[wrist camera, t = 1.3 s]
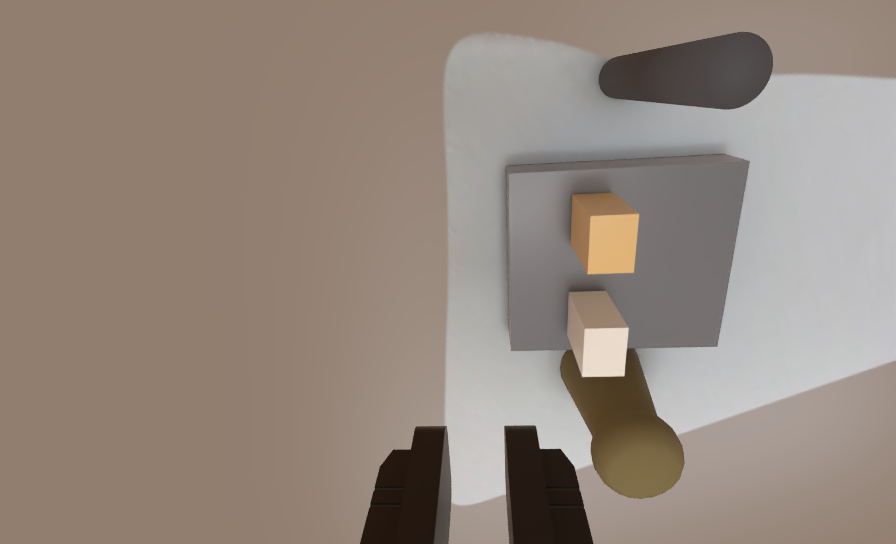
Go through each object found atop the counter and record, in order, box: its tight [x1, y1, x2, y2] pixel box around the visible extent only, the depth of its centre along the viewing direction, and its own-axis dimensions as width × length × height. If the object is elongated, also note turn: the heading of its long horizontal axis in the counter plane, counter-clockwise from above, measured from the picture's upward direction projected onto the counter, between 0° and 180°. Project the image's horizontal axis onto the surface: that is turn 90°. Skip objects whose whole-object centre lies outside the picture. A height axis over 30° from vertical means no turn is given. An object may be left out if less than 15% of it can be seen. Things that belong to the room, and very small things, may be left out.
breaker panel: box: [506, 154, 750, 351], centre depth 31 cm, size 14×12×3 cm
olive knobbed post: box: [560, 348, 684, 499], centre depth 31 cm, size 6×6×11 cm
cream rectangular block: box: [567, 291, 629, 377], centre depth 29 cm, size 2×3×5 cm
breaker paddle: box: [570, 193, 639, 274], centre depth 26 cm, size 2×3×5 cm
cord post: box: [599, 32, 773, 109], centre depth 22 cm, size 2×2×14 cm
